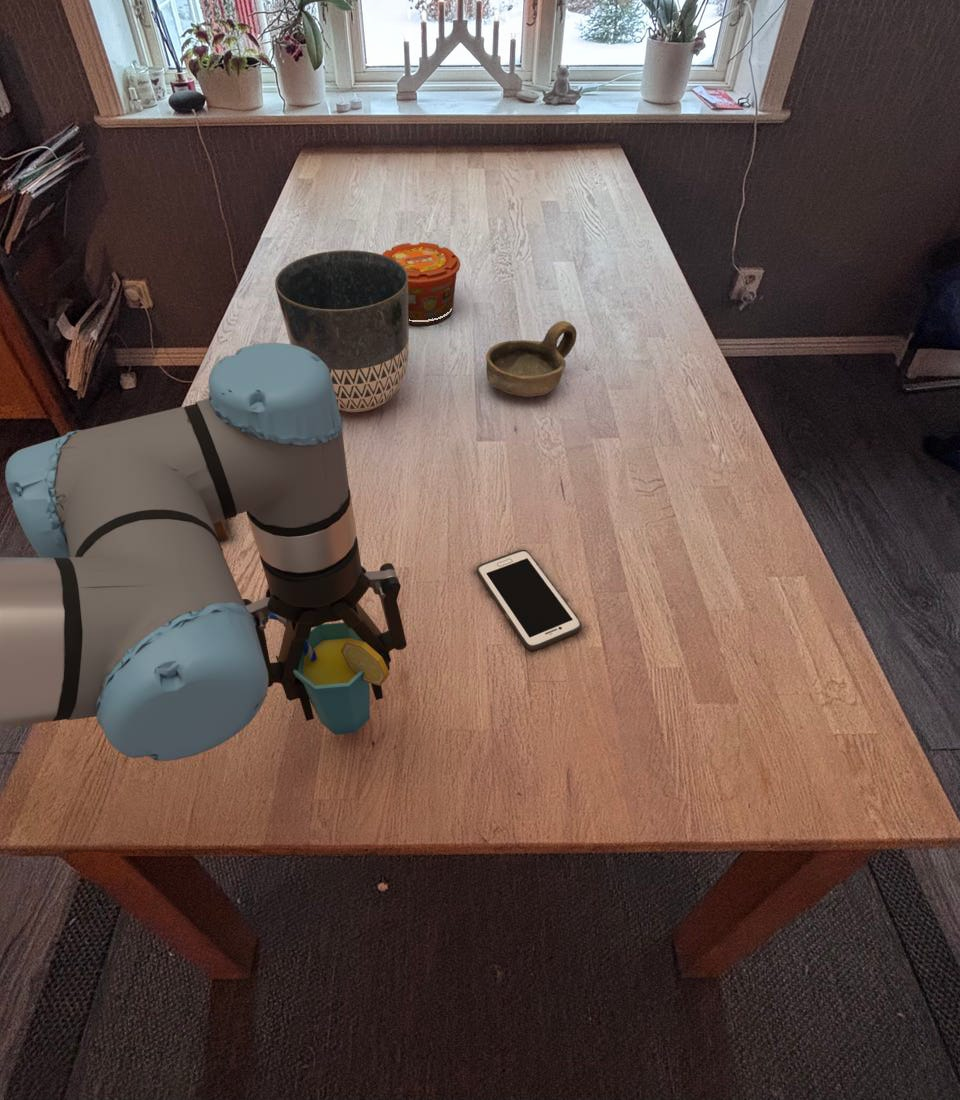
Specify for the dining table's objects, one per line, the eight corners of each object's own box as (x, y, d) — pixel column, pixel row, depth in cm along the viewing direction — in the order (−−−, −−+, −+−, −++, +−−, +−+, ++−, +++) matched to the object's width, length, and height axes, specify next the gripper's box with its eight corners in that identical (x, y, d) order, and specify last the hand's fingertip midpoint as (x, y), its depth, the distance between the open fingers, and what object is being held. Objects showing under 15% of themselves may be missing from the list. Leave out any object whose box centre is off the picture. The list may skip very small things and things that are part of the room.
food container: (412, 339, 130) (409, 285, 122) (366, 307, 138) (360, 254, 130) (476, 314, 137) (477, 261, 129) (428, 285, 145) (426, 233, 137)
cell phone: (525, 552, 92) (525, 547, 91) (583, 630, 83) (584, 626, 83) (474, 570, 90) (474, 565, 89) (529, 653, 81) (529, 649, 80)
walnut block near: (190, 548, 92) (178, 522, 88) (187, 524, 95) (176, 497, 91) (228, 539, 93) (218, 513, 89) (224, 515, 96) (214, 489, 92)
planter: (403, 440, 109) (394, 315, 93) (285, 429, 110) (255, 304, 94) (424, 373, 122) (418, 254, 106) (318, 365, 123) (297, 245, 107)
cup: (258, 725, 69) (222, 638, 58) (292, 663, 74) (265, 573, 63) (387, 761, 67) (375, 677, 56) (413, 695, 72) (407, 606, 61)
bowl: (468, 380, 121) (468, 328, 113) (547, 353, 127) (552, 303, 120) (512, 419, 113) (515, 366, 106) (593, 388, 120) (602, 337, 112)
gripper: (414, 484, 57) (422, 644, 74) (173, 537, 52) (240, 695, 69) (441, 545, 53) (443, 701, 69) (179, 609, 48) (250, 760, 64)
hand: (342, 698), depth 69 cm, fingers closed on cup, 6 cm apart
